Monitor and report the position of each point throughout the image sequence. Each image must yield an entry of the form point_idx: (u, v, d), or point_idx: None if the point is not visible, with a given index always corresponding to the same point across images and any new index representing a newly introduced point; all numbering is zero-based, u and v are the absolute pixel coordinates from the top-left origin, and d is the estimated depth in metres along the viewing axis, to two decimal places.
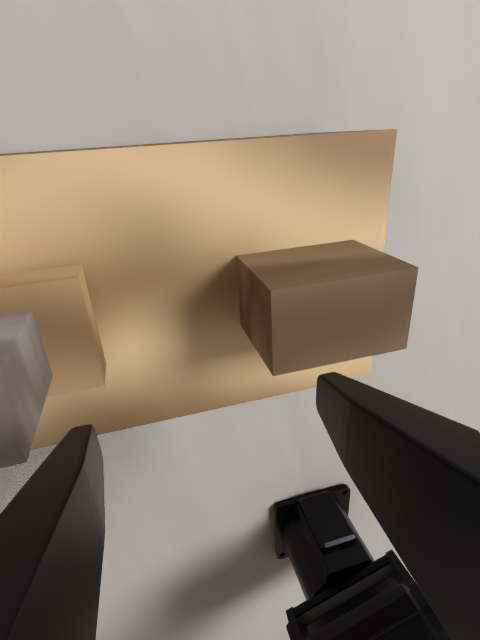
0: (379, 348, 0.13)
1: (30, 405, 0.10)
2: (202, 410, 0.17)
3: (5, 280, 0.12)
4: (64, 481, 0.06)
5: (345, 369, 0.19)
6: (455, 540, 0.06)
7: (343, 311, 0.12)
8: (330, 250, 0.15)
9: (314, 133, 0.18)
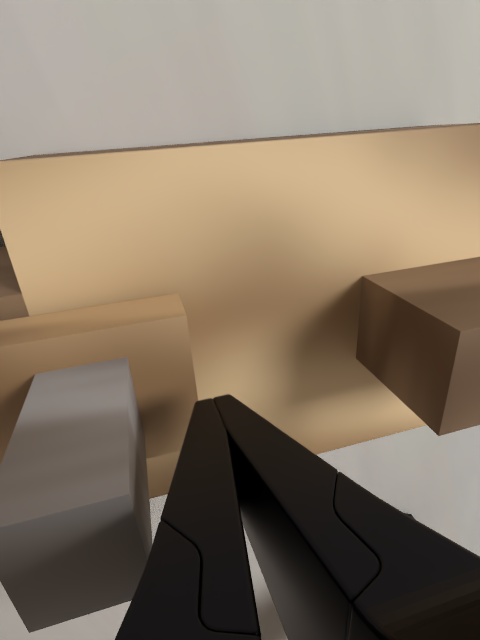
0: None
1: (144, 498, 0.07)
2: None
3: (90, 318, 0.09)
4: (219, 444, 0.07)
5: None
6: (299, 593, 0.05)
7: None
8: None
9: (428, 126, 0.15)
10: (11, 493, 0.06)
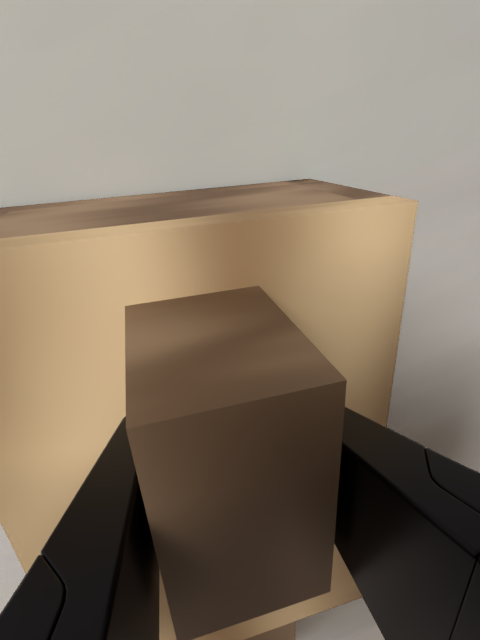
0: (327, 444, 0.06)
1: None
2: None
3: None
4: (130, 465, 0.06)
5: (388, 262, 0.10)
6: (395, 561, 0.06)
7: (227, 540, 0.06)
8: None
9: None
10: None
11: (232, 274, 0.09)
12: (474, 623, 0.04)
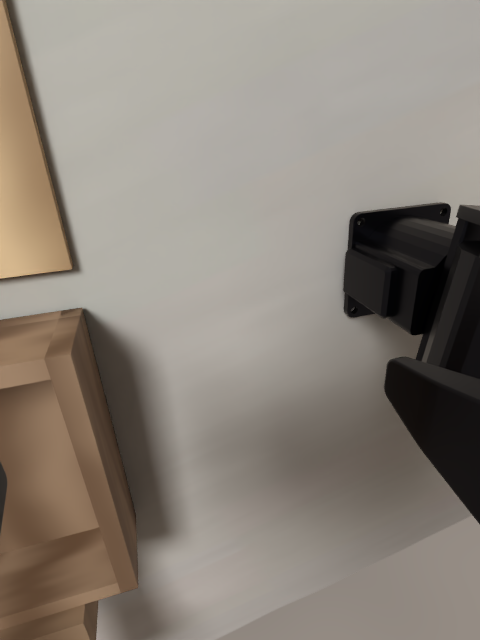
0: None
1: None
2: (23, 91, 0.15)
3: None
4: None
5: None
6: None
7: None
8: None
9: None
10: None
11: None
12: None
